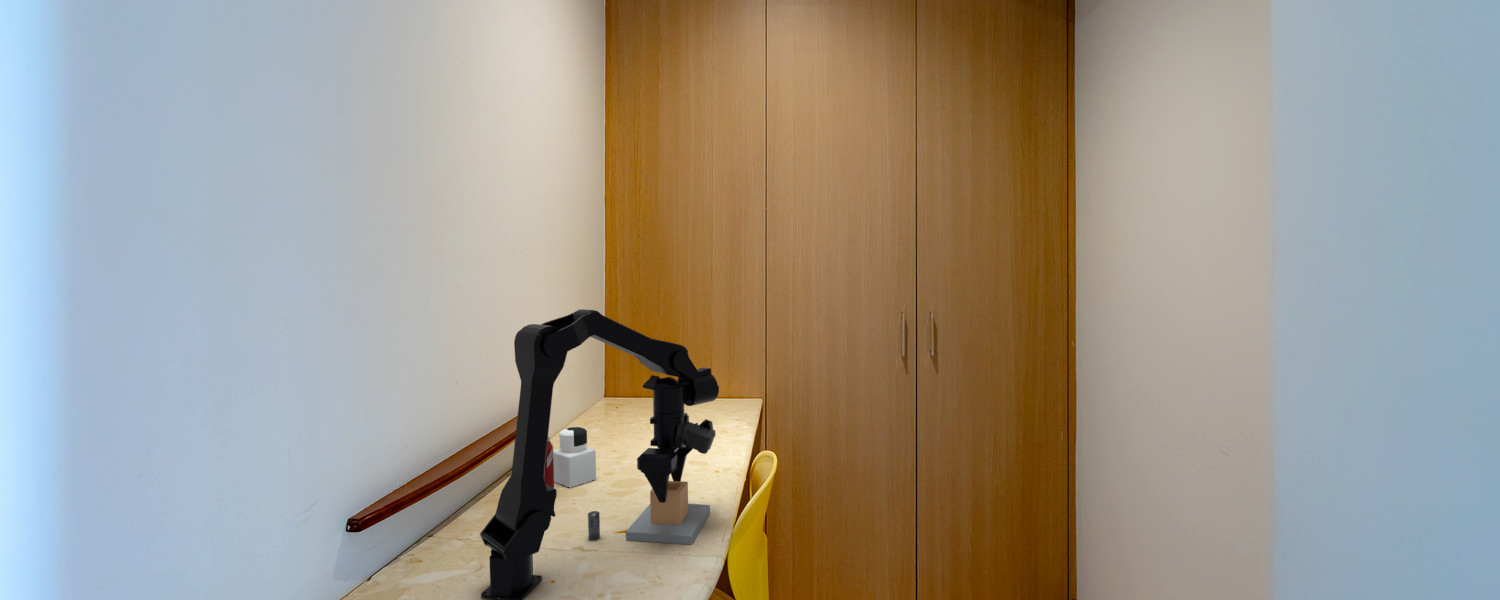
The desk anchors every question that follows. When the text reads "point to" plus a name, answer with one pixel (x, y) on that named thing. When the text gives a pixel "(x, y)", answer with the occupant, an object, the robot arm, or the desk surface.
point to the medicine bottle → (574, 458)
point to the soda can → (549, 465)
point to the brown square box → (670, 504)
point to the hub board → (669, 527)
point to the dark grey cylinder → (594, 525)
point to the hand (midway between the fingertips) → (670, 492)
